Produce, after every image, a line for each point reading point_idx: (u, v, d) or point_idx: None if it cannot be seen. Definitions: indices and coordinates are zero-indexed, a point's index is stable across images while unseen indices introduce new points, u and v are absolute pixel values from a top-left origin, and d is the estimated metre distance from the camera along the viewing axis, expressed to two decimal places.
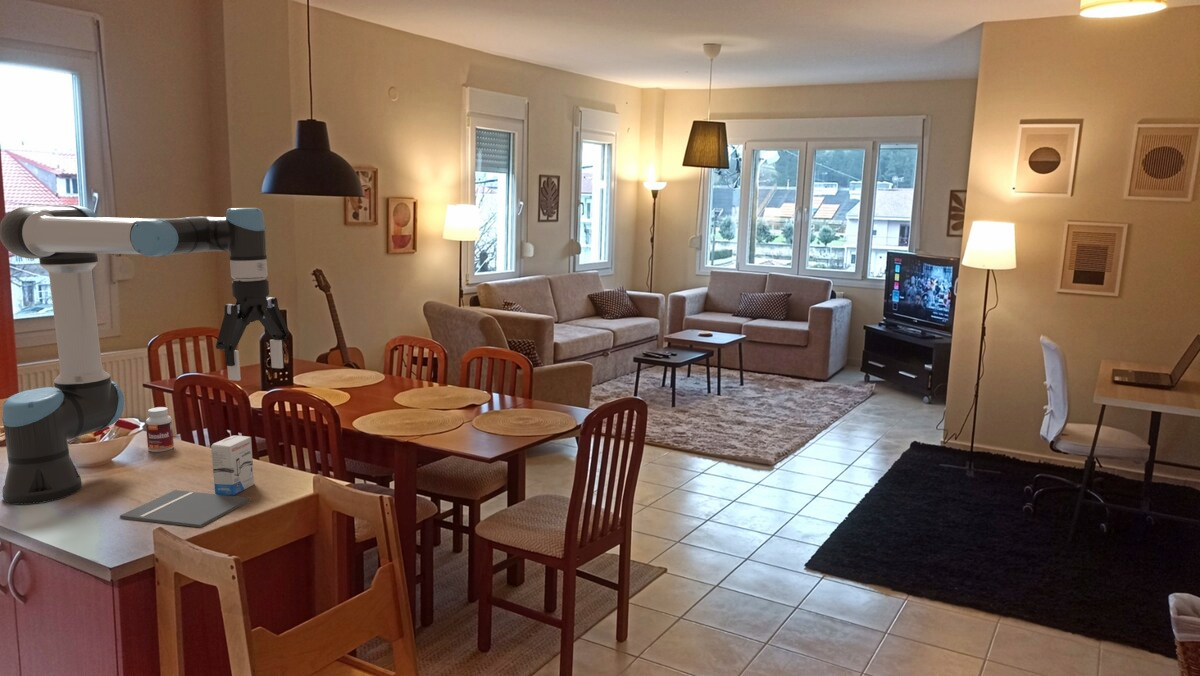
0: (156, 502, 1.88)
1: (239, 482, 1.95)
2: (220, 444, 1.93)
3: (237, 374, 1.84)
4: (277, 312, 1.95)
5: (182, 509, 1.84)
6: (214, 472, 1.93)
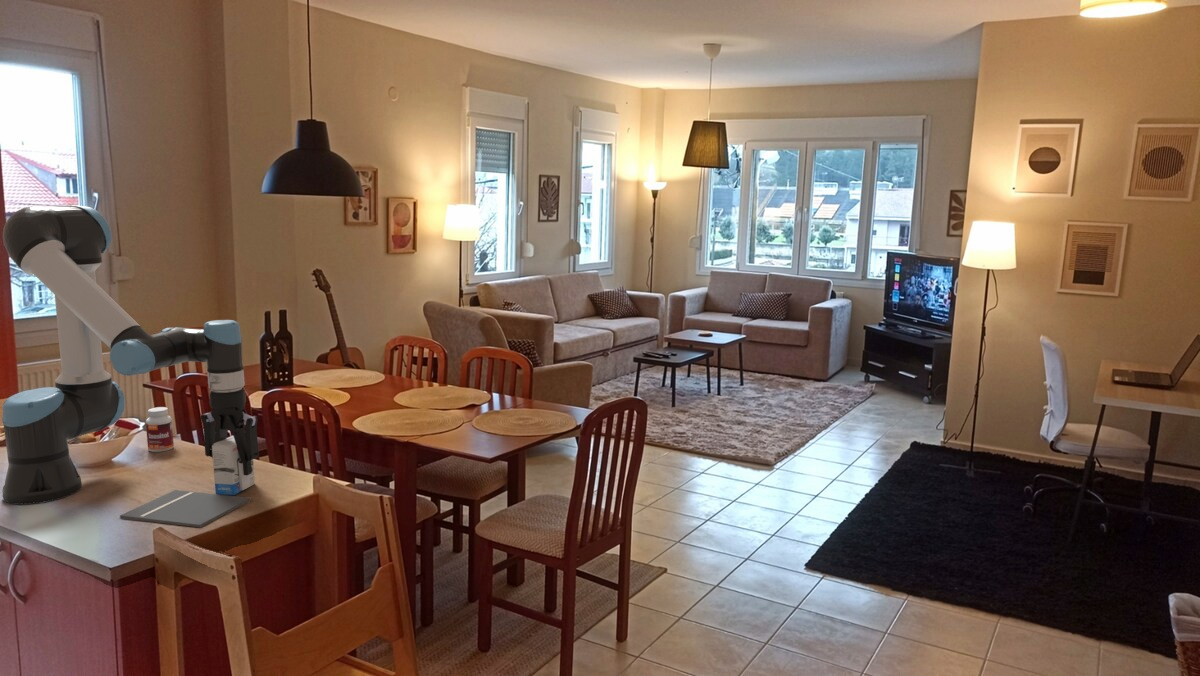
0: (156, 502, 1.88)
1: (239, 482, 1.95)
2: (221, 443, 1.93)
3: None
4: (246, 432, 1.93)
5: (182, 509, 1.84)
6: (215, 472, 1.93)
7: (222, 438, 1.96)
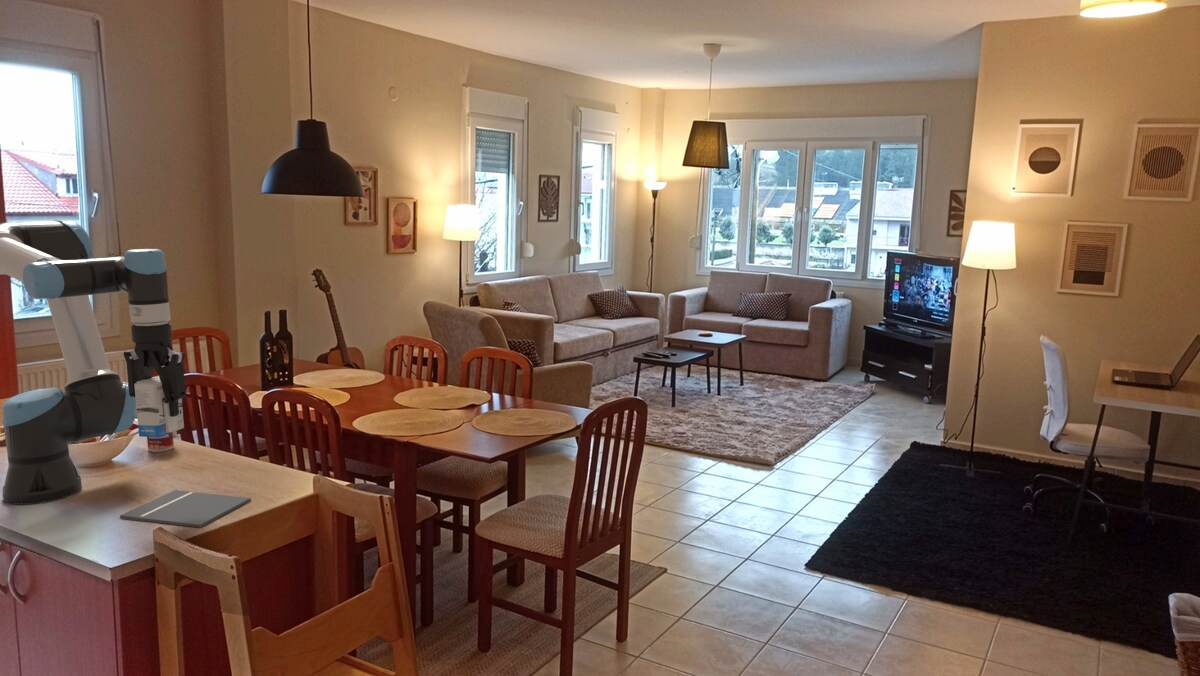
0: (156, 502, 1.88)
1: None
2: (145, 382, 1.80)
3: None
4: (171, 369, 1.79)
5: (182, 509, 1.84)
6: (138, 412, 1.80)
7: (147, 377, 1.82)
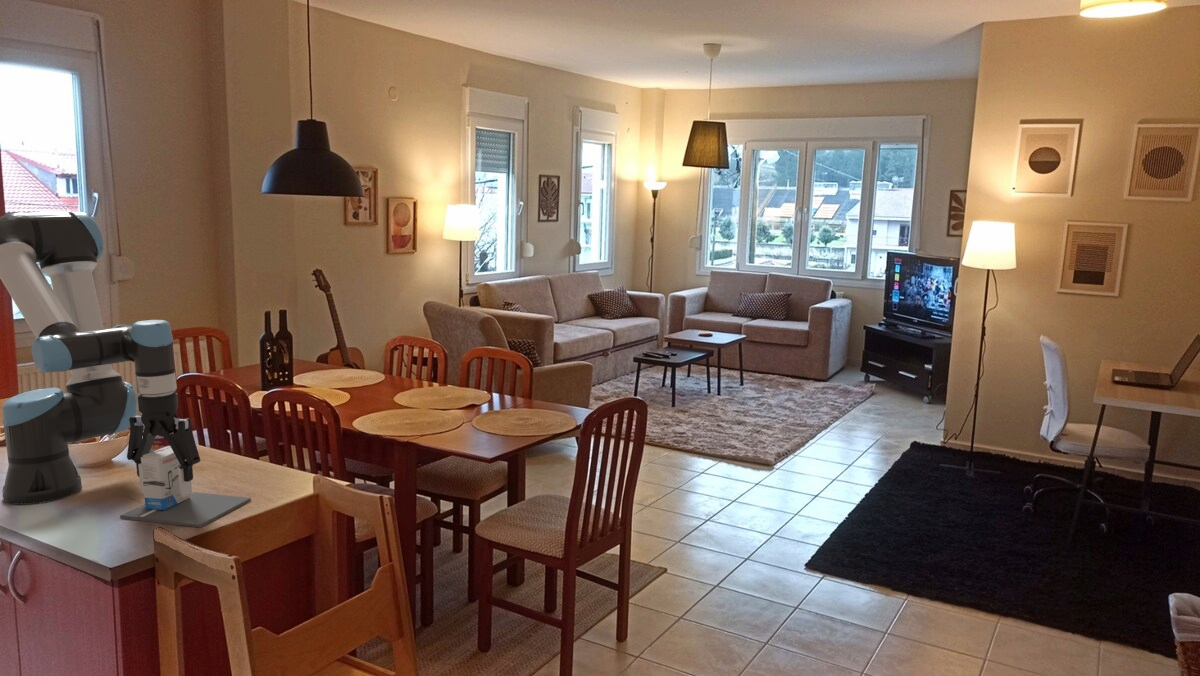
0: None
1: (171, 496, 1.85)
2: (151, 455, 1.82)
3: None
4: (180, 436, 1.81)
5: (182, 509, 1.84)
6: (144, 485, 1.83)
7: (148, 443, 1.85)
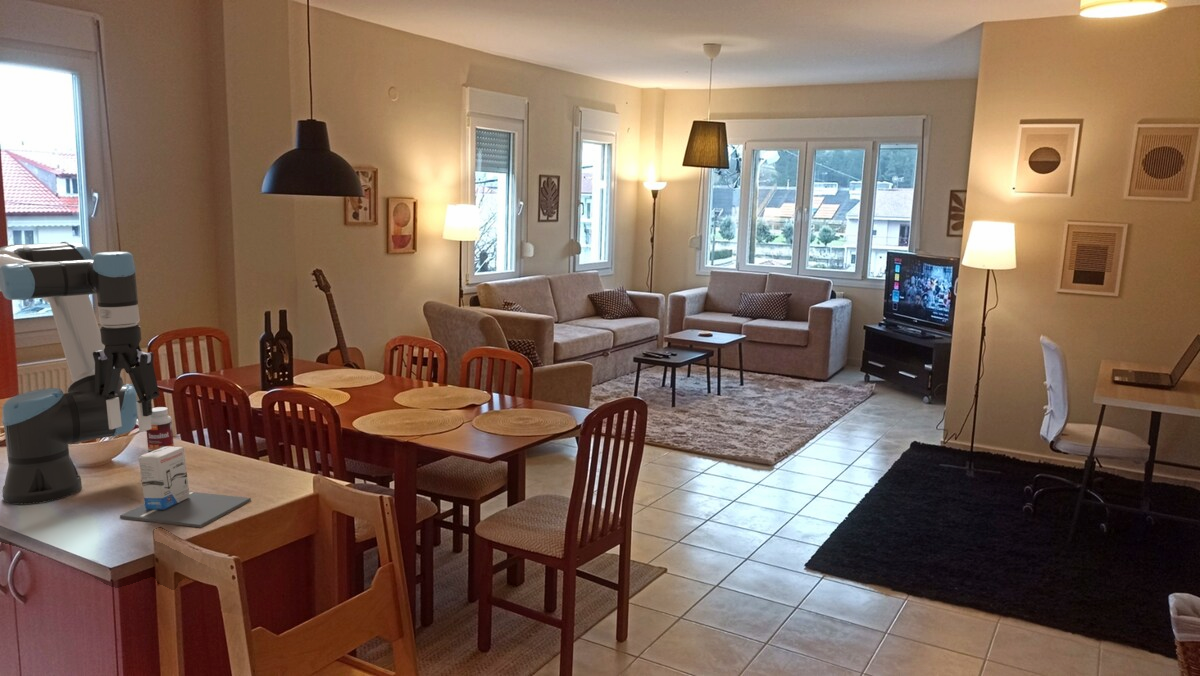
0: None
1: (171, 495, 1.85)
2: (149, 455, 1.82)
3: None
4: (141, 370, 1.81)
5: (182, 509, 1.84)
6: (143, 485, 1.83)
7: (114, 377, 1.85)
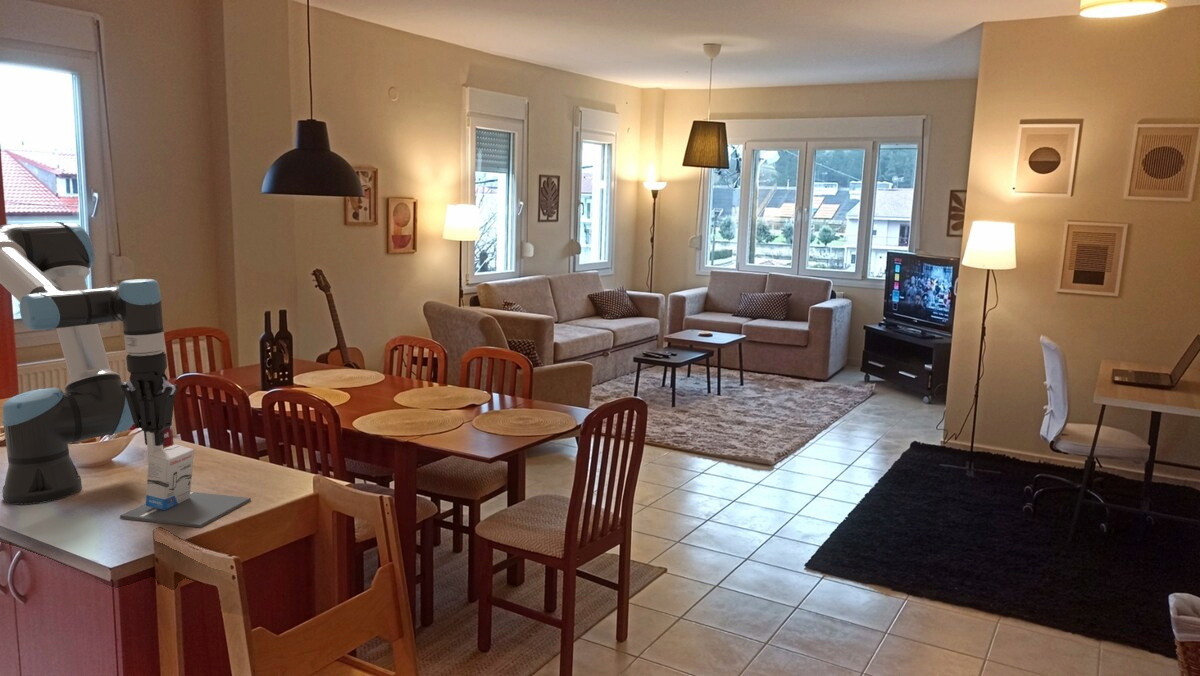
0: None
1: (173, 497, 1.85)
2: (159, 455, 1.82)
3: None
4: (162, 400, 1.81)
5: (182, 509, 1.84)
6: (148, 483, 1.82)
7: (147, 406, 1.83)
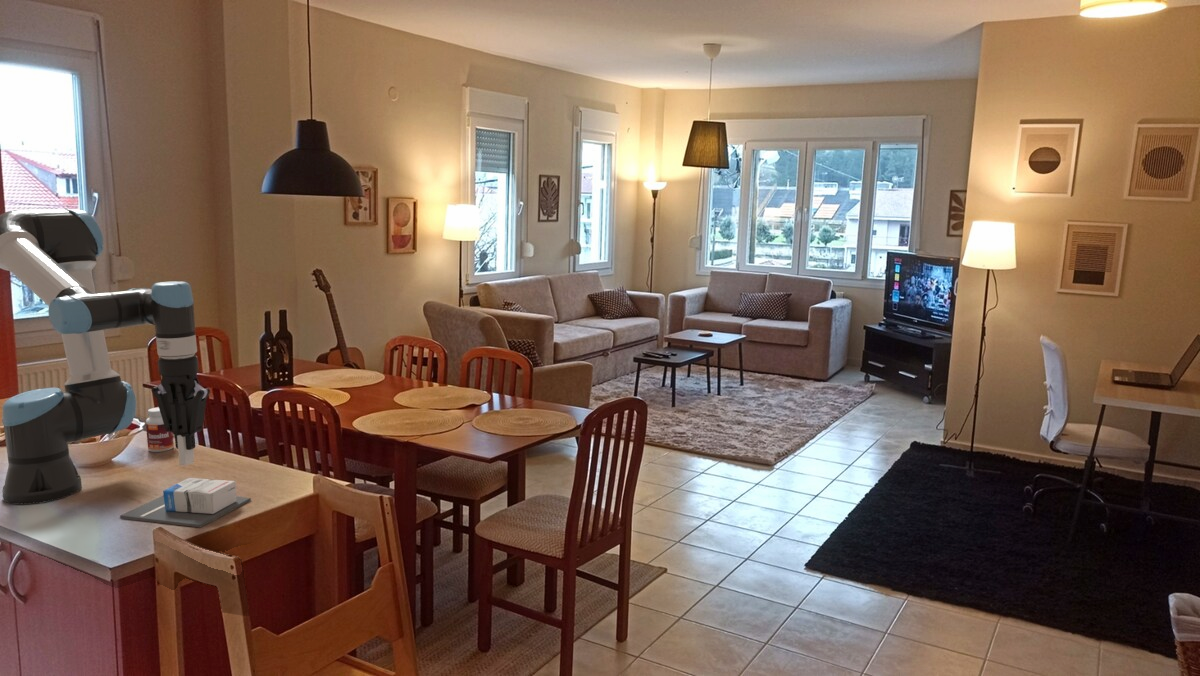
0: (156, 502, 1.88)
1: None
2: (215, 500, 1.81)
3: None
4: (194, 404, 1.79)
5: None
6: (184, 494, 1.81)
7: (178, 410, 1.82)
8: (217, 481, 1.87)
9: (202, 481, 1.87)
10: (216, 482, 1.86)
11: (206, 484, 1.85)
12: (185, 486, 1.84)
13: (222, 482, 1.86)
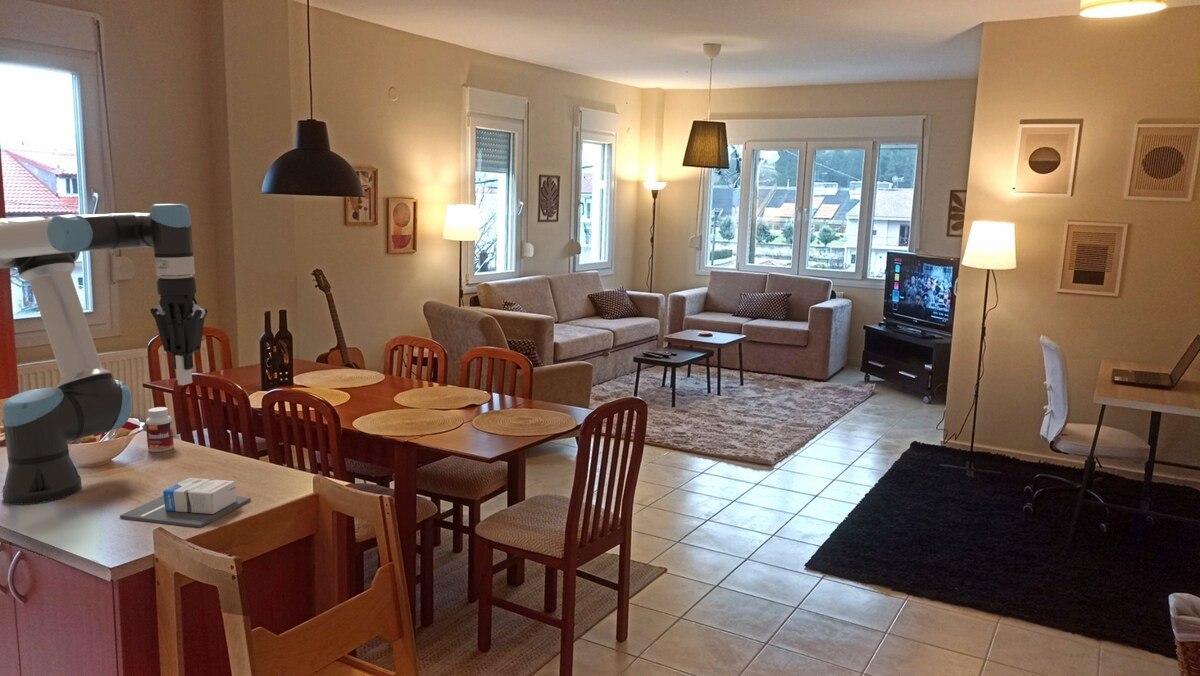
0: (156, 502, 1.88)
1: None
2: (215, 500, 1.81)
3: None
4: (192, 323, 1.83)
5: None
6: (184, 494, 1.81)
7: (177, 330, 1.86)
8: (217, 481, 1.87)
9: (202, 481, 1.87)
10: (216, 482, 1.86)
11: (206, 484, 1.85)
12: (185, 486, 1.84)
13: (222, 482, 1.86)
